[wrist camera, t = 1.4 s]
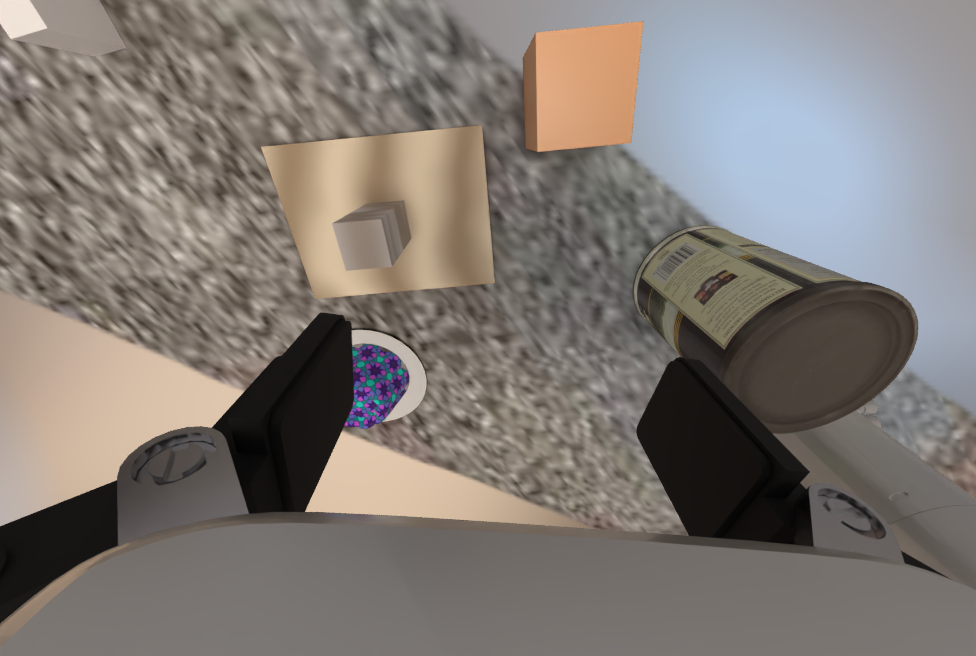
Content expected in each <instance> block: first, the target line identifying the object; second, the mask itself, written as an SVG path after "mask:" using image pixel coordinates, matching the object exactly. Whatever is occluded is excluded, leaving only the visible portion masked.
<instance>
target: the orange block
mask: <svg viewBox="0 0 976 656" xmlns="http://www.w3.org/2000/svg"><path fill="white" fill-rule="evenodd" d="M642 29H643V21H642V22H632V23H623V24H614V25H604V26H595V27H585V28H576V29H567V30H558V31H548V32H539V33H535V35H534V37H533V39H532V41H531V43H530V45H529V47H528V49H527V51H526V53H525V55H524V57H523V81H524V115H525V148H526V149H529V150H532V151H536V152H542V151H552V150H563V149H573V148H583V147H594V146H604V145H614V144H625V143H631V139H632V129H633V119H634V109H635V100H636V89H637V80H638V70H639V60H640V49H641V39H642Z"/></svg>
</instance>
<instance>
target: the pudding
mask: <svg viewBox="0 0 976 656" xmlns="http://www.w3.org/2000/svg"><path fill="white" fill-rule="evenodd" d="M360 343H369V344H364V345H363V346H361V347H360V348H355V347H352V352H353V379H354V402H353V407H352V410H351V412H350V414H349V416H348V418H347V421H346V423H345V426H348V427H356V426H357V427H359V428H361V429H367V428H370V427H372V426H374V424H379V423H381V422H383V421H390V420H395V419H398V418H400V417H403V416H405V415H407V414H408V413H410V412H411V411H413V410H414V409H415V408H416V407H417V406H418V405H419V403H420V402H421V401H422V399H423V397H424V395H425V391H426V375H425V370H424V368H423V366H422V364H421V362H420V360H419V359H418V357H417V356H416V355H415V354H414V353H413V352H412V351H411V350H410V348H408V347H407V346H406V345H404V344H403V343H402V342H400V341H398V340H397V339H395V338H393V337H391V336H388V335H386V334H383V333H380V332H375V331H370V330H352V345H354V344H360ZM372 344H375V345H379V346H382V347H385V348H387V349H389V350H391V351H392V352H394V353H395V354H396V355H395V354H393V353H392V352H383V351H382V350H381V349H380V348H379V347H378V346H375V345H372ZM397 355H398V356H399V357H400V358H401V359H402V361H403V362H404V363H405V365H406V367H407V369H408V371H409V374H408V372H407V371H406V370H405V369H403V368H402V367H401V360H400V359H399V357H398V356H397ZM409 376H410V383H409V387H408V390H407V392H406V391H405V386H406V385H407V383H408V382H409ZM405 392H406V393H405ZM404 393H405V394H404ZM403 395H404V396H403Z"/></svg>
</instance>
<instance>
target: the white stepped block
mask: <svg viewBox="0 0 976 656" xmlns="http://www.w3.org/2000/svg"><path fill="white" fill-rule="evenodd" d="M0 24H1V25H2V27H3V28H4V30H5V31H6V33H7V34H8V36H9V37H10V38H11V39H13V40H17V41H22V42H27V43H32V44H37V45H42V46H46V47H51V48H56V49H61V50H66V51H70V52H75V53H80V54H85V55H90V56H94V57H96V56H100V55H103V54H107V53H110V52H113V51H117V50H120V49H124V48H126V47H125V45H124V43H123V41H122V40H121V38H120V36H119V34H118V33H117V31H116V29H115V27H114V26H113V24H112V22H111V20H110V19H109V17H108V15H107V13H106V12H105V10H104V8H103V6H102V4H101V3H100V1H99V0H0Z"/></svg>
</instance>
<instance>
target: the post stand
mask: <svg viewBox="0 0 976 656" xmlns="http://www.w3.org/2000/svg"><path fill="white" fill-rule="evenodd" d="M261 148H262V150H263V153H264V156H265V159H266V162H267V164H268V167H269V170H270V173H271V176H272V178H273V181H274V184H275V187H276V190H277V192H278V195H279V198H280V201H281V204H282V206H283V209H284V212H285V215H286V218H287V220H288V223H289V226H290V229H291V232H292V234H293V237H294V240H295V243H296V246H297V248H298V251H299V254H300V257H301V260H302V262H303V265H304V268H305V271H306V274H307V276H308V279H309V282H310V285H311V288H312V290H313V293H314V296H315V299H318V298H329V297H341V296H352V295H364V294H376V293H387V292H399V291H410V290H422V289H434V288H445V287H457V286H468V285H480V284H492V283H495V280H494V267H493V255H492V243H491V231H490V218H489V206H488V194H487V182H486V169H485V157H484V145H483V133H482V125H479V126H468V127H458V128H448V129H438V130H428V131H418V132H408V133H398V134H388V135H378V136H368V137H358V138H348V139H337V140H327V141H317V142H307V143H297V144H287V145H277V146H267V147H261Z"/></svg>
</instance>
